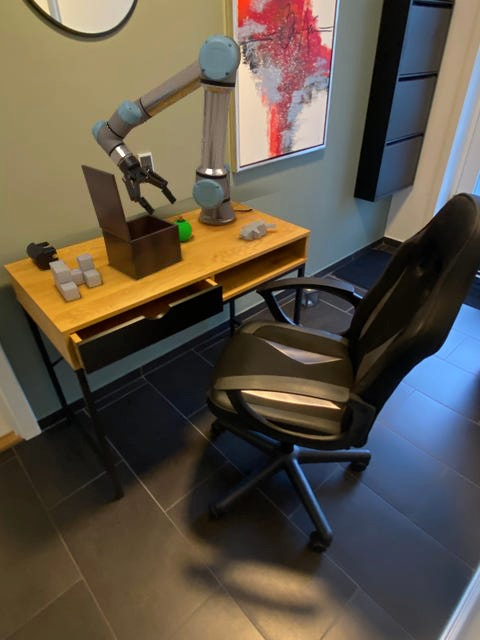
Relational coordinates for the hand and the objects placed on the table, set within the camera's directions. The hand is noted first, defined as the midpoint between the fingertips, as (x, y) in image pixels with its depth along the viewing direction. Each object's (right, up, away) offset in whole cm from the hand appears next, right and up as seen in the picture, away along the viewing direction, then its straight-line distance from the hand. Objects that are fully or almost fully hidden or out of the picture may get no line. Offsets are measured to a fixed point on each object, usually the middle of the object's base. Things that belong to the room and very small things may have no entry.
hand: (163, 207), depth 149 cm
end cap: (-39, -23, -12) cm, 47 cm away
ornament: (+6, -12, +4) cm, 14 cm away
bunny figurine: (+35, -9, +8) cm, 37 cm away
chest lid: (-11, -7, -31) cm, 33 cm away
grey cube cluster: (-21, -32, -25) cm, 46 cm away
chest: (-4, -22, -11) cm, 25 cm away
